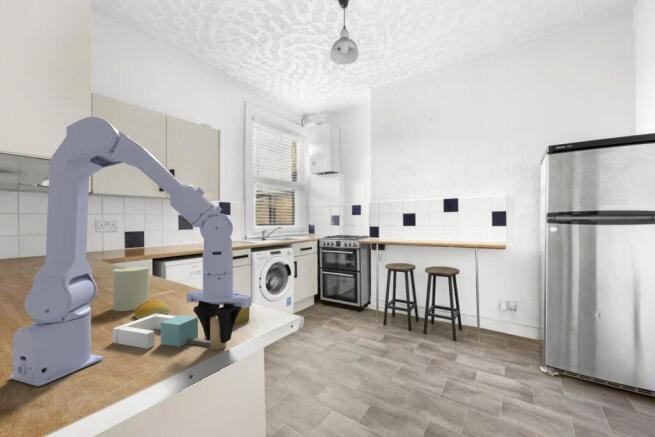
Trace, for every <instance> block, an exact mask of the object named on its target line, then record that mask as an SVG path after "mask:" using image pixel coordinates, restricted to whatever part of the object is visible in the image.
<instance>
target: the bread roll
mask: <svg viewBox="0 0 655 437" xmlns="http://www.w3.org/2000/svg"><path fill="white" fill-rule="evenodd" d="M170 311H171V309H170V306H169V305H168V304H167V303H166V302H164V301H162V300H160V299H149V300H148V301H145V302H143V303H141V304H140V305H139V306H137V307H136V308H135V310H133V314H134V317H135V318H136V320H139V319H142V318H144V317H147V316H150V315H153V314H163V315H169V313H170Z"/></svg>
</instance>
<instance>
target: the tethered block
mask: <svg viewBox="0 0 655 437" xmlns="http://www.w3.org/2000/svg"><path fill="white" fill-rule="evenodd" d="M175 316H176V317H173V318H171V319H168V320H166V321H163V322H161V330H160V345H165V346H170V347H174V348H175V347H177V348H181V347H183V346H185V345H186V344H190V345H191V344H192V345H197V346H202V347H203V346H204V347H209V348H210V350H211V351H219V350H223V349H225V348H227V342H226V343H221V339H220V325H219V320H218V316H217V315H215V316H212V317H210V340H209V341H206V339H201V338H199V318H198V317H197V316H191V315H184V314H179V315H175Z"/></svg>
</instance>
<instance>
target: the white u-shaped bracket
mask: <svg viewBox="0 0 655 437" xmlns="http://www.w3.org/2000/svg"><path fill="white" fill-rule="evenodd" d="M176 316H177V315H170V314H167V315H163V314H153V315H150V316H147V317H144V318H142V319H139V320H138V319H136V320H134V321H129V322H128V323H124V324H121V325H119V326H116V327H113V328H112V343H114V344H119V345H125V346H130V347H136V348H141V349H146V350H148V349H150V348H152V347H155V344H156V341H155V340H156V338H155V330H160V331H161V322H163V321H166V320H168V319H171V318H173V317H176Z"/></svg>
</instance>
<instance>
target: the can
mask: <svg viewBox="0 0 655 437" xmlns="http://www.w3.org/2000/svg"><path fill="white" fill-rule="evenodd" d="M112 274H113V276H112V277H113V308H112V310H113V311H115V312H129V311H134V310H135V308H136V307H137V306H139V305H140V304H141V303H143V302H145V301H148V300H150V267H149V266H144V265H143V266H142V265H141V266H139V265H138V266H124V267H119V268H115V269H113V270H112Z"/></svg>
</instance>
